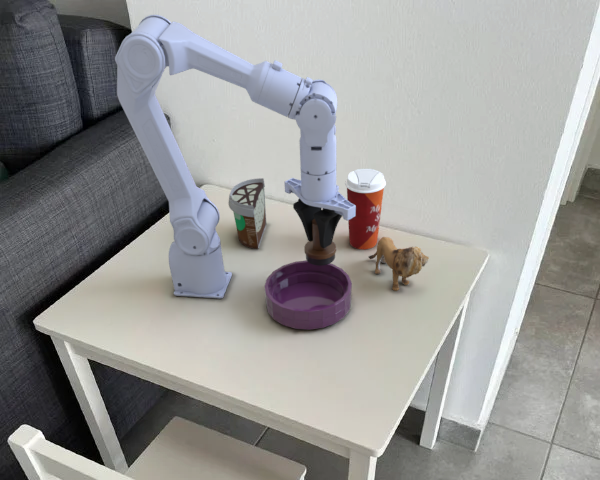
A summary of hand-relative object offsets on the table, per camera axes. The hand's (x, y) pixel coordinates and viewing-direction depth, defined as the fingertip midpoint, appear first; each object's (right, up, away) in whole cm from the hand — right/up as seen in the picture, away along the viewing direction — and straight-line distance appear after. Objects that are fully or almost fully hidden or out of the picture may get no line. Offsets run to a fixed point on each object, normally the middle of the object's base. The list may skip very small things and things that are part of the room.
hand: (319, 242), depth 109 cm
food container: (-14, +7, +21) cm, 26 cm away
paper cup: (+9, +4, +18) cm, 21 cm away
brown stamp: (0, -2, +2) cm, 3 cm away
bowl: (-2, -10, +4) cm, 11 cm away
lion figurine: (+14, -5, +9) cm, 18 cm away
